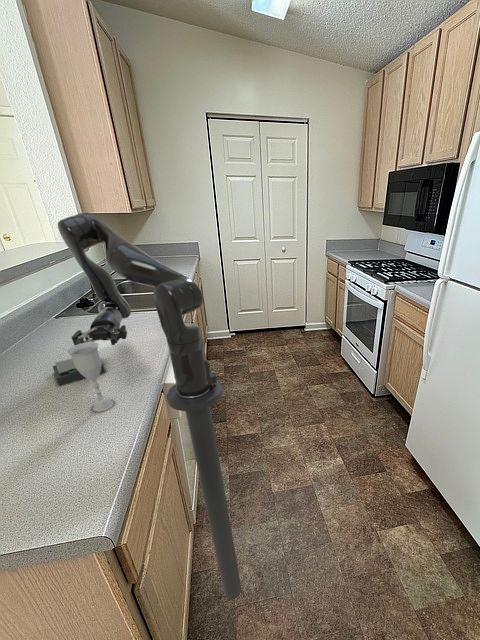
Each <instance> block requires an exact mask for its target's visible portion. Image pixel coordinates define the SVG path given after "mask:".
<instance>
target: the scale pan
mask: <svg viewBox="0 0 480 640" xmlns="http://www.w3.org/2000/svg"><path fill="white" fill-rule="evenodd" d="M54 364H55V365H56V367H57V370H58V372H59V374H62V373H66V372H69V371H73V370H76V367H75V364H74V362H73V359H72V358H67V359H64V360H60V361H57V362H54Z"/></svg>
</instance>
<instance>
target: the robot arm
mask: <svg viewBox="0 0 480 640" xmlns="http://www.w3.org/2000/svg"><path fill="white" fill-rule="evenodd" d="M57 229H58V232H59V235H60V236H61V238H62V240H63V241H64V244H65V245H66V247H67V248H68V250H69V251H70V253H71V254H72V256H73V257H74V259H75V261H76V262H77V264H78V265H79V266H80V269H82V271H83V272H84V274H85V275H86V277H87V279H88V281H89V283H90V284H91V287H92V289H93V291H94V293H95V295H96V298H97V299H98V300H99V301H100V303H98V306H97V311H98V314H97V315H96V316H95V317H94V320H93V321H92V323H91V325H90V327H89V329H88V330H86V331H84V332H83V331H82V330H79V329H78V330H76V331H75V333H74V334H73V335H72V336H71V340H72V343H73V346H75V345H78V344H81V343H86V342H95V343H96V342H97V341H110V344H111V346H115V345H116V344H118V343H119V341H120V340H126V339H127V337H128V330H127V326H126V325H125V324H123V325H121V323H122V321H123V320H125V319H127V318H129V317H130V316H131V313H132V309H131V306H130V304H129V302H128V301H127V300H126V298H124V297H123V295H122V294H121V293H120V291H119V290H118V287H117V285H116V282H115V279H114V278H113V276H112V274H111V273H110V272H109V271H108V270H107V269H106V268H104V267H103V266H101V265H100V264H98V263H97V262H95V261H94V260H92V259H91V258H90V257H89V256H88V255H87V253H86V252H85V250H87V249H89V248H91V247H94V246H97V245H99V244H104V247H105V248H104V252H105V253H104V255H105V260H106V262H107V264H108V266H109V268H111V269H112V271H114V272H116V273H117V274H118V275H119V276H121V277H122V278H124V279H125V280H128V281H129V282H132V283H135V284H139V285H143V286H147V287H152V288H154V289H153V301H154V305H155V309H156V312H157V316H158V319H159V323H160V327H161V329H162V333H163V334H164V336H165V339H166V343H167V349H168V353H169V357H170V363H171V366H172V371H173V375H174V380H175V384H176V385H177V390H178V395H179V396H180V397H182V398H185V399H194V398H199V397H202V396H204V395H205V394H207V393H208V392H209V391H210V390H212V389H213V387H212V384H215V383H216V381H218V378H217V376H216V375H215V374H214V373H213V372H211V369H210V363H209V360H207V359H206V355H205V350H204V348H205V347H204V343H203V337H202V330H201V328H200V326H199V325H198V324H196V323H190V322H185V321H184V317H183V316H184V315H187V314H190V313H192V312H194V311H197V310H198V309H199V308H201V306H202V305H203V303H204V296H203V291H202V290H201V288H200V287H199V285H198V284H197V283H196V282H195V281H194V280H193V279H191V278H190V277H188V276H187V275H184V274H182V273H180V272H178V271H177V270H174V269H172V268H170V267H169V266H166V265H165V264H163V263H162V262H160V261H158V260H157V259H156V258H154V257H153V256H150V255H149V254H148V253H146V252H145V250H142V249H141V248H139V247H138V246H136V245H135V244H134V243H131V242H130V241H128V240H127V239H126V238H124V237H123V236H121V235H120V234H118V233H117V232H116V231H114V230H113V229H112V228H110V226H108V225H107V224H106V223H105V222H103V221H102V219H100V218H99V217H98V216H97V215H94V214H93V213H91V212H89V211H84V212H80V213H76V214H73V215H71V216H68V217H65V218H62V219H60V220H59V221H58V222H57Z"/></svg>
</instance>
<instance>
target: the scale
mask: <svg viewBox="0 0 480 640" xmlns="http://www.w3.org/2000/svg"><path fill="white" fill-rule="evenodd" d="M52 369H53V371H54V375H55V378H56V381H57V383H58V386H59V387H60V386H64V385H66V384H71V383H73V382H77V381H80V380H84V379H86V378H85V377H84V376H83V375H82V374H80V372H79V371H78V370H77V369H76V370H73V371H69V372H66V373H62V374H59V372H58V370H57V367H56V364H55V365H52ZM105 373H106V369H105V367H104V365H103V363H102V362H101V371H100V375H101V374H105Z"/></svg>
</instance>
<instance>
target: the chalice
mask: <svg viewBox="0 0 480 640" xmlns="http://www.w3.org/2000/svg"><path fill="white" fill-rule="evenodd" d="M98 349H99V343H98V342H96V341H95V342H86V343H81V344H78V345H73V346H71V347H69V348H68V349H67V350H66V352H67V353H68V354H69V355H70V356H71V359H73V362H74V364H75V367H76V369H77V370H78V371H79V372H80V374H82V375H83V376H84V377H85V378H84V379H86V380H87V381H90V382H91V381H92V383H93V384H92V388H94V390H95V391H94V394H96V395H97V398H95V400H94V401H93V408H92V410H93V411H94V412H105V411H106V410H109V409H110V408H113V405H114V402H113V401H112V400H111V399H110V398H109V397H108V396H104V395H102V389H101V388H100V383H98V381H97V379H99V378H100V375H101V374H100V371H101V363H102V359H101V356H100V353H99V350H98Z"/></svg>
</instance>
